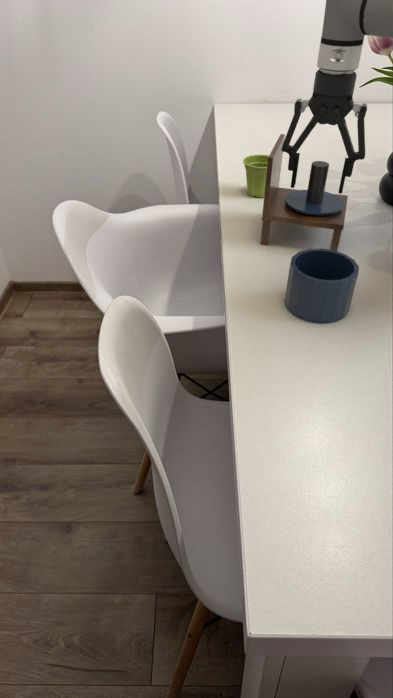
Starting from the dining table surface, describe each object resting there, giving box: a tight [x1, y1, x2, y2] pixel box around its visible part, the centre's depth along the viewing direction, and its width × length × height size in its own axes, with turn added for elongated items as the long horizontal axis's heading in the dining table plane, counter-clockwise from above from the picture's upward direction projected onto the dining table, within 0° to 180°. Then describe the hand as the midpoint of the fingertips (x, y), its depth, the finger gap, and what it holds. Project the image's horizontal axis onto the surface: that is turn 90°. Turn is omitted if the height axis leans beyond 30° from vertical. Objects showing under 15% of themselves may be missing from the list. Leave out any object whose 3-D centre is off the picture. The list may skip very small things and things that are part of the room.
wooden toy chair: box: [260, 133, 349, 252], centre depth 105 cm, size 17×16×19 cm
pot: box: [284, 247, 360, 324], centre depth 87 cm, size 12×12×8 cm
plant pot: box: [242, 154, 270, 199], centre depth 126 cm, size 9×9×9 cm
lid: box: [285, 160, 344, 215], centre depth 104 cm, size 13×13×9 cm
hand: (316, 188), depth 104 cm, fingers open, 9 cm apart
